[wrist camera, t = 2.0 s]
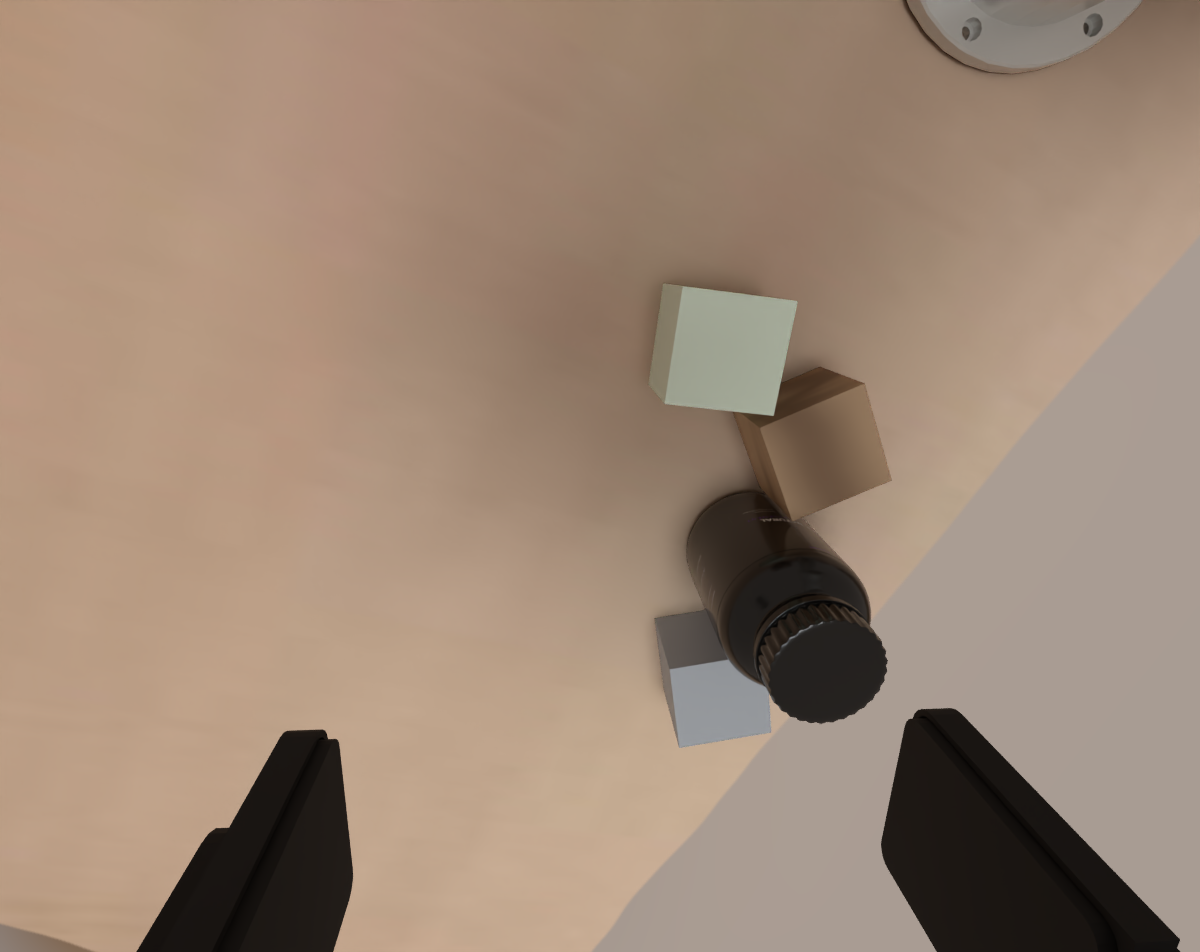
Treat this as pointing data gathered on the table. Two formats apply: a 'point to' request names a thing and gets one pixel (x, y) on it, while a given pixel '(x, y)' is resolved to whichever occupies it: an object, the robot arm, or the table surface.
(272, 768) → the robot arm
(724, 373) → the sage cube
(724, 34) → the table surface
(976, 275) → the table surface
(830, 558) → the supplement bottle
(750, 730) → the slate cube
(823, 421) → the walnut cube
